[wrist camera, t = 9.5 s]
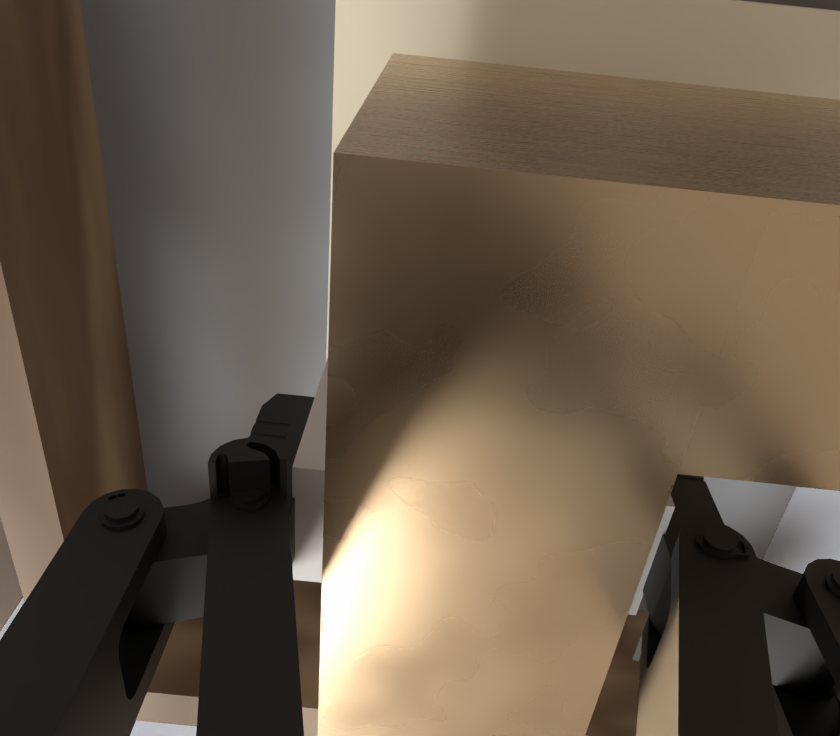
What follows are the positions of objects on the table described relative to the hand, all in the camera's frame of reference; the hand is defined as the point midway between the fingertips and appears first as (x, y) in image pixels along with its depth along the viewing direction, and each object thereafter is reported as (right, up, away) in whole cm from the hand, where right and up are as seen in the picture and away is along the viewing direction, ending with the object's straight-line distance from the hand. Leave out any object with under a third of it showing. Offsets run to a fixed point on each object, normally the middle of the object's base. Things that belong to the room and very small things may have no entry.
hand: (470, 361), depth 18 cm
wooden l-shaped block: (+3, 0, 0) cm, 3 cm away
